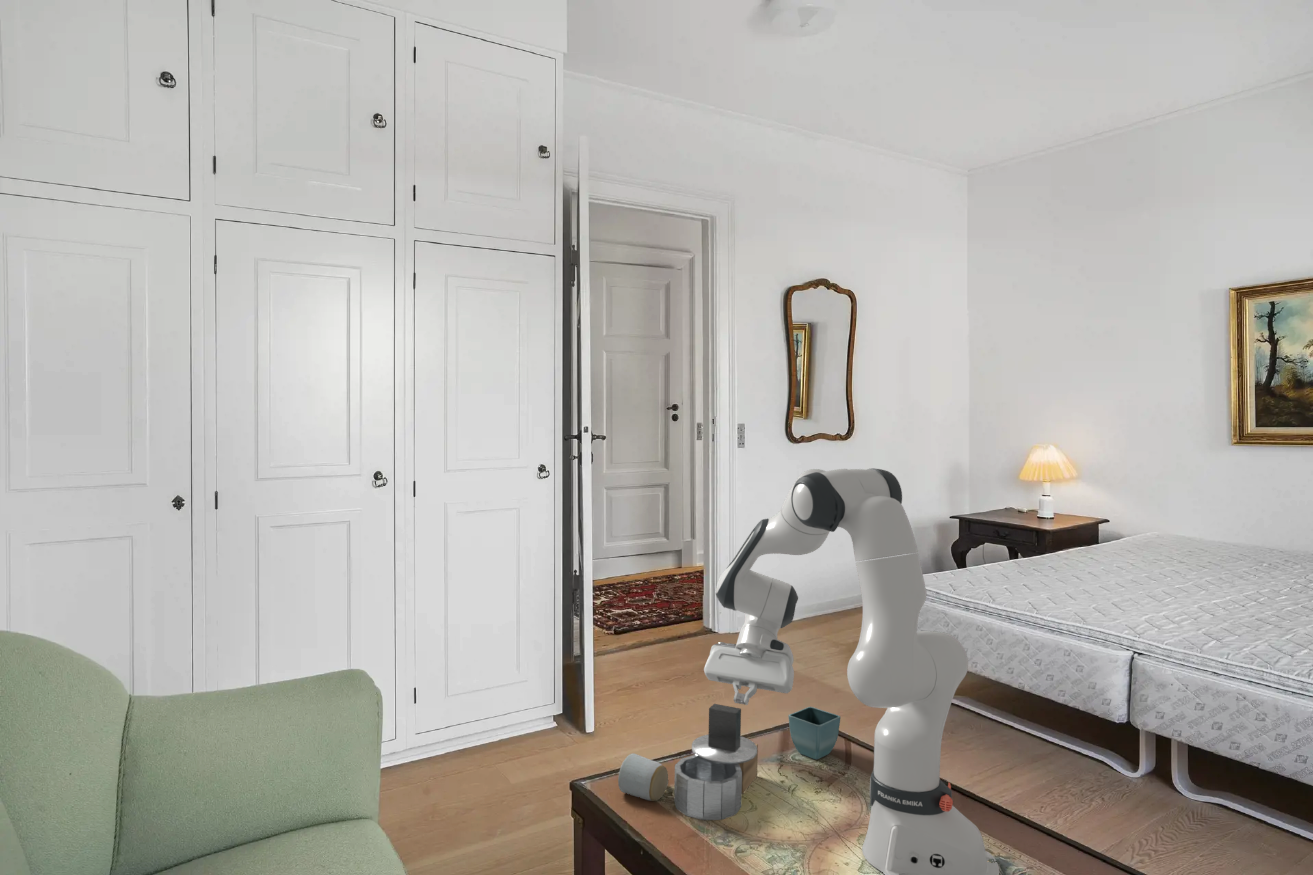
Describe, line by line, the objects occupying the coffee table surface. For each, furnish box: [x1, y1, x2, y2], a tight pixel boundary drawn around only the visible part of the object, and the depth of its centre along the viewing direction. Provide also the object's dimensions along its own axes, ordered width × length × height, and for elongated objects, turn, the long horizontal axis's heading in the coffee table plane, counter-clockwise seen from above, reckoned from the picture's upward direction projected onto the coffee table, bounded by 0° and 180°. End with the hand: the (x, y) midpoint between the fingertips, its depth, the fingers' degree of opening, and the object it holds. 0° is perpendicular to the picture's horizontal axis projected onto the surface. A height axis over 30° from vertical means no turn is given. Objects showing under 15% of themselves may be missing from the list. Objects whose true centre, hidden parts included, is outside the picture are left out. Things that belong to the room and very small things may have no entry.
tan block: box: [739, 743, 759, 795], centre depth 166 cm, size 10×9×7 cm
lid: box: [691, 703, 757, 764], centre depth 164 cm, size 14×14×9 cm
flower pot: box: [788, 706, 841, 760], centre depth 180 cm, size 9×9×9 cm
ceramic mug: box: [617, 753, 669, 802], centre depth 160 cm, size 11×8×8 cm
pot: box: [673, 754, 743, 821], centre depth 156 cm, size 13×13×7 cm
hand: (740, 702), depth 172 cm, fingers closed
